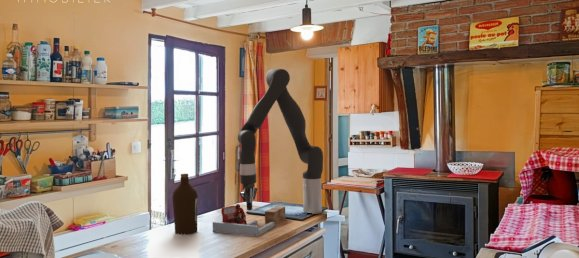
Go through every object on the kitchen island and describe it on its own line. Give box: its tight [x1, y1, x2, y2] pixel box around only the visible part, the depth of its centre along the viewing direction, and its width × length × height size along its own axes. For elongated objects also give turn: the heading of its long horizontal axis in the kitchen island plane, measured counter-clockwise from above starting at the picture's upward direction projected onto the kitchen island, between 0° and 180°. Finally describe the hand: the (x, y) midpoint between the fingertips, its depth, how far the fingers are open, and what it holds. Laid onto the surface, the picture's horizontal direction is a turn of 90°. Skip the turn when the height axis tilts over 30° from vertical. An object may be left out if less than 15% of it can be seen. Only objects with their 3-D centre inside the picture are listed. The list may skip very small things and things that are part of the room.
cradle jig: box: [212, 219, 276, 237], centre depth 202 cm, size 16×22×4 cm
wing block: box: [264, 205, 286, 225], centre depth 214 cm, size 12×4×6 cm, turn 155°
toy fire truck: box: [220, 203, 248, 225], centre depth 203 cm, size 7×12×10 cm, turn 133°
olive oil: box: [171, 173, 199, 235], centre depth 198 cm, size 11×11×25 cm
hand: (249, 209), depth 215 cm, fingers closed
